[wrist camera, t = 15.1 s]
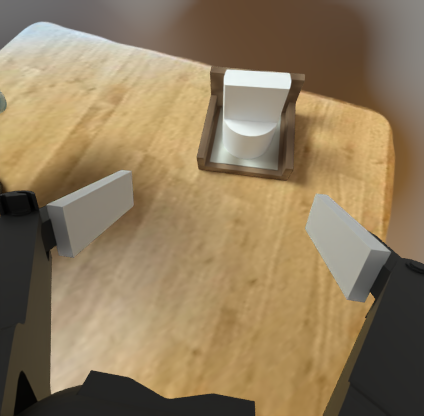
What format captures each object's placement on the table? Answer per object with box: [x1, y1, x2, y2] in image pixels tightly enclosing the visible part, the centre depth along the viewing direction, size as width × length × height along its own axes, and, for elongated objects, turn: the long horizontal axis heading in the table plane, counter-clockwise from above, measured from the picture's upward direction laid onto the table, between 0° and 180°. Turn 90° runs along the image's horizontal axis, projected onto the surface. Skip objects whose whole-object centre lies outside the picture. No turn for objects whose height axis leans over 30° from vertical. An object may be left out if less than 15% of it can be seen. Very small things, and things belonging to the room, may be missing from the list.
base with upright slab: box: [223, 69, 291, 159], centre depth 34 cm, size 9×9×12 cm
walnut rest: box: [197, 66, 305, 180], centre depth 37 cm, size 16×16×8 cm
